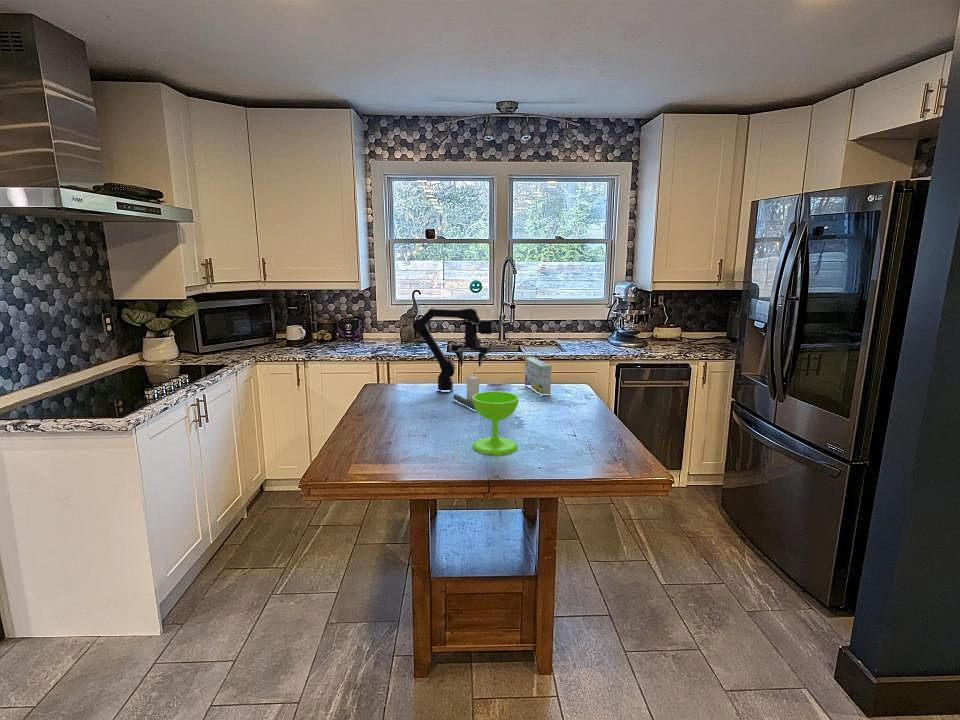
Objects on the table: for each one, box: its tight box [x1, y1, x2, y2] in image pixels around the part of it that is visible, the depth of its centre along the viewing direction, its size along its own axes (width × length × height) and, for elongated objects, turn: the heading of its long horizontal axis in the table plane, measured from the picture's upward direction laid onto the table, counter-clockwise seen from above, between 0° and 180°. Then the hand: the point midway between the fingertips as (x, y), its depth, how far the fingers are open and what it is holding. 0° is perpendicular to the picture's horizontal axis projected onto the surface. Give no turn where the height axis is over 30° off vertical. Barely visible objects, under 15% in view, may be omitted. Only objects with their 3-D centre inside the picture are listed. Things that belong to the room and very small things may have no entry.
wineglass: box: [471, 390, 520, 456], centre depth 181 cm, size 16×16×18 cm
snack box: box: [524, 356, 552, 395], centre depth 259 cm, size 21×6×15 cm, turn 17°
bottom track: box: [453, 393, 476, 410], centre depth 235 cm, size 20×9×3 cm, turn 30°
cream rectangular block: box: [466, 375, 480, 402], centre depth 234 cm, size 5×4×12 cm
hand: (470, 365), depth 255 cm, fingers open, 9 cm apart
